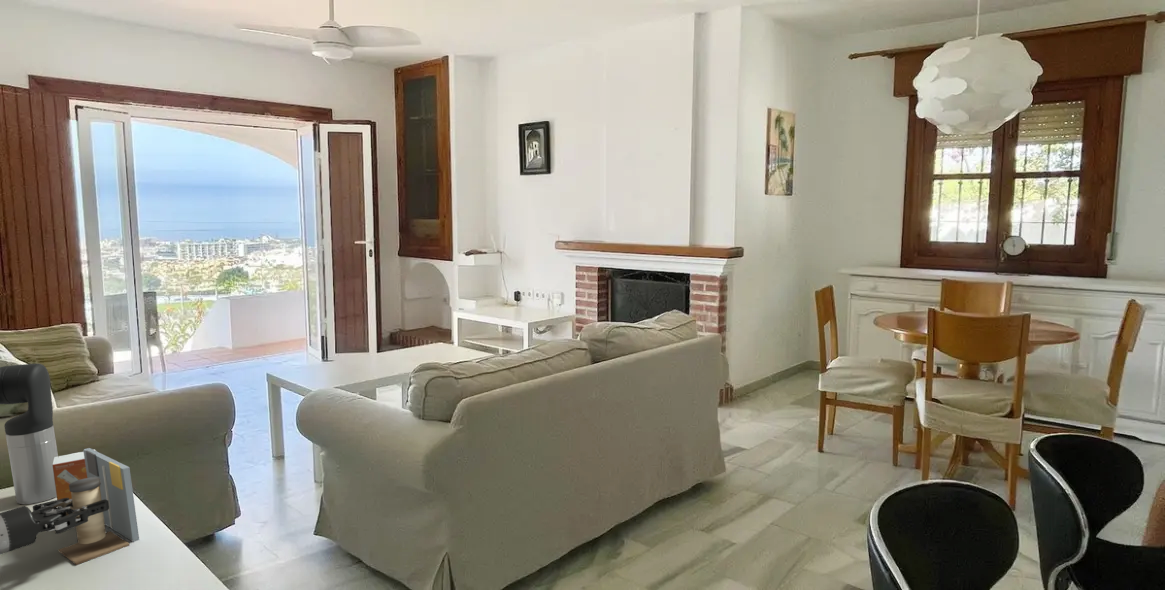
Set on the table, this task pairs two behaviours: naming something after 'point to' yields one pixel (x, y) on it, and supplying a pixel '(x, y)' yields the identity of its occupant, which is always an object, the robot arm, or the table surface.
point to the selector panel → (114, 492)
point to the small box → (68, 472)
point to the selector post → (81, 496)
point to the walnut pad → (93, 548)
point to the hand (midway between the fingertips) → (102, 501)
